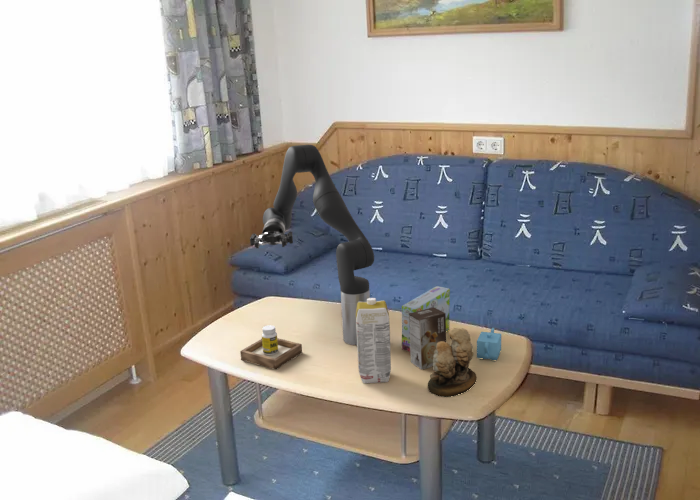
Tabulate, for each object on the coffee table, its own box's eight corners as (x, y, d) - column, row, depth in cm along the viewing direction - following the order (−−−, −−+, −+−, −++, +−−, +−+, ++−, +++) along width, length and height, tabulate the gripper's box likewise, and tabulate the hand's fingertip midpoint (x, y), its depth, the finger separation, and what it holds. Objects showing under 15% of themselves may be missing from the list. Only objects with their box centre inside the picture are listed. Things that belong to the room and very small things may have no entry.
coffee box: (435, 354, 222) (434, 306, 217) (447, 362, 216) (446, 313, 212) (409, 362, 218) (408, 312, 213) (421, 370, 212) (420, 320, 208)
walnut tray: (302, 352, 228) (301, 344, 227) (276, 369, 218) (275, 360, 217) (267, 344, 235) (267, 335, 234) (241, 359, 225) (240, 351, 224)
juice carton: (390, 370, 213) (387, 294, 206) (392, 383, 206) (389, 305, 198) (358, 372, 213) (354, 296, 206) (359, 385, 206) (355, 306, 198)
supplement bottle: (272, 356, 223) (269, 331, 221) (260, 353, 226) (257, 329, 223) (281, 350, 227) (279, 326, 224) (269, 347, 229) (267, 323, 227)
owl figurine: (451, 366, 215) (451, 312, 210) (487, 376, 208) (488, 321, 202) (417, 390, 201) (417, 334, 196) (454, 402, 194) (455, 344, 189)
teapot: (483, 346, 226) (483, 323, 224) (502, 348, 224) (503, 325, 222) (475, 362, 216) (475, 339, 213) (496, 365, 213) (496, 341, 211)
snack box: (416, 354, 223) (415, 309, 218) (401, 350, 226) (399, 305, 222) (450, 330, 239) (450, 287, 234) (436, 326, 242) (435, 284, 238)
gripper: (252, 222, 252) (247, 235, 236) (293, 219, 252) (291, 232, 237) (254, 242, 254) (249, 257, 239) (295, 240, 254) (292, 254, 239)
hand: (270, 244), depth 238 cm, fingers open, 8 cm apart
